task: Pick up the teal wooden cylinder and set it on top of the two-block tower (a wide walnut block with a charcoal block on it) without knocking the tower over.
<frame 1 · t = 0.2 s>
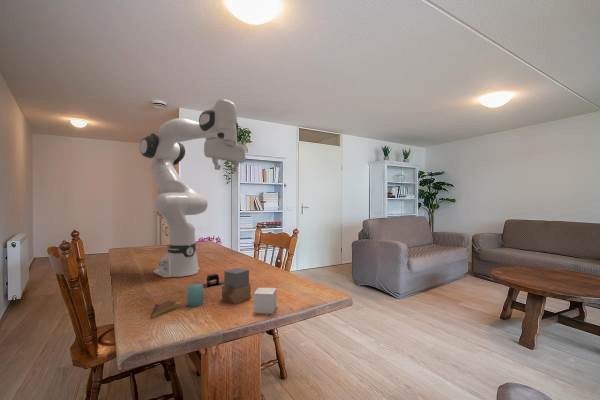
hand: (226, 170, 116), 47 cm above the table, tool pointing down, fingers open, 8 cm apart
tower upper block: (236, 284, 97), point 5 cm above the table, touching tower lower block
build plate: (212, 286, 114), on the table
shard: (167, 311, 87), on the table
teal cylinder: (195, 303, 92), on the table
white cube: (265, 310, 87), on the table
tower lower block: (236, 299, 97), on the table, touching tower upper block
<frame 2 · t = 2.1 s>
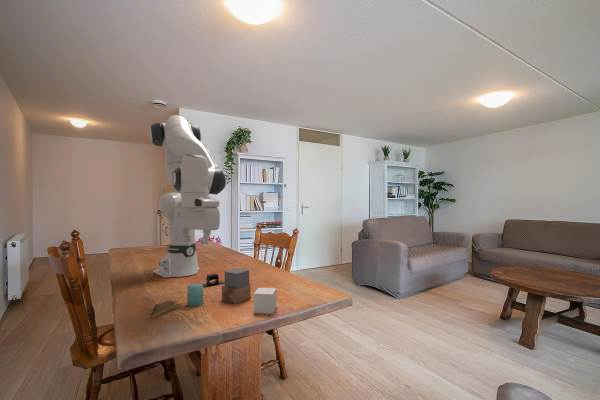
hand: (195, 242, 92), 20 cm above the table, tool pointing down, fingers open, 8 cm apart
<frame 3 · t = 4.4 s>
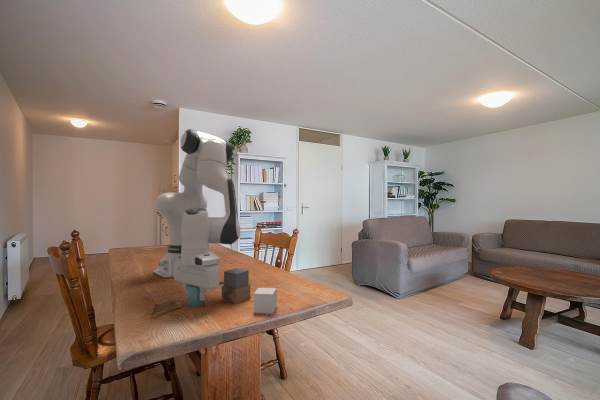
hand: (195, 297, 92), 2 cm above the table, tool pointing down, fingers closed on teal cylinder, 5 cm apart
teal cylinder: (195, 303, 92), on the table, touching gripper
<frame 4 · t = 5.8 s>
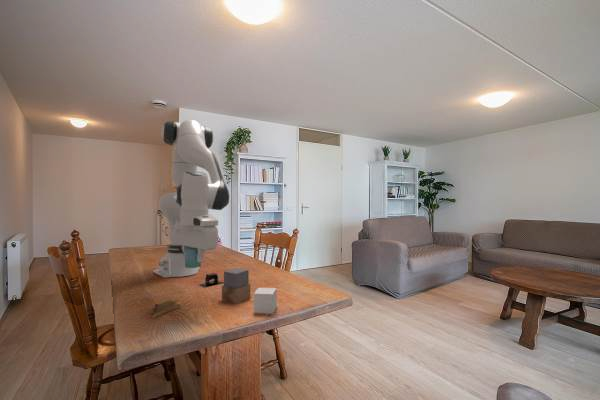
hand: (193, 260, 92), 15 cm above the table, tool pointing down, fingers closed on teal cylinder, 5 cm apart
teal cylinder: (192, 266, 92), point 13 cm above the table, touching gripper
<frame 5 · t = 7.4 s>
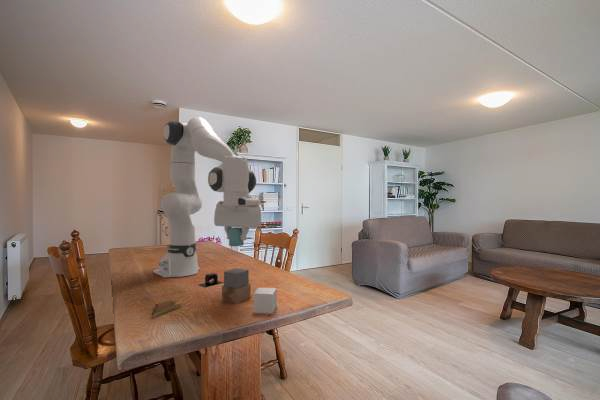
hand: (236, 239, 97), 21 cm above the table, tool pointing down, fingers closed on teal cylinder, 5 cm apart
teal cylinder: (236, 245, 97), point 19 cm above the table, touching gripper
when the fingers open (13 cm above the table, at t = 8.9 s): teal cylinder drops 1 cm, resting on tower upper block.
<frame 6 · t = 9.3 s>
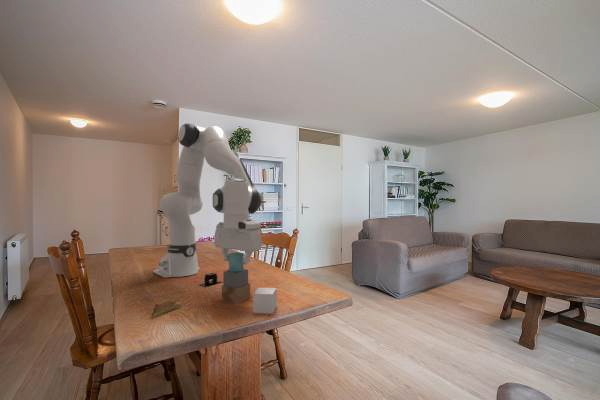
hand: (236, 262, 97), 13 cm above the table, tool pointing down, fingers open, 8 cm apart
tower upper block: (235, 284, 97), point 5 cm above the table, touching teal cylinder, tower lower block
teal cylinder: (236, 270, 97), point 10 cm above the table, touching tower upper block
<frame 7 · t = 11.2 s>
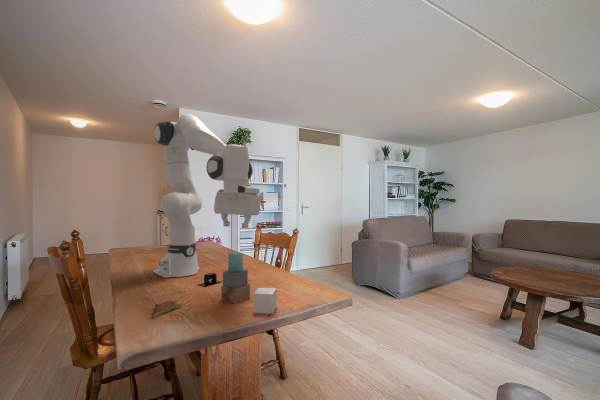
hand: (235, 227, 99), 25 cm above the table, tool pointing down, fingers open, 8 cm apart
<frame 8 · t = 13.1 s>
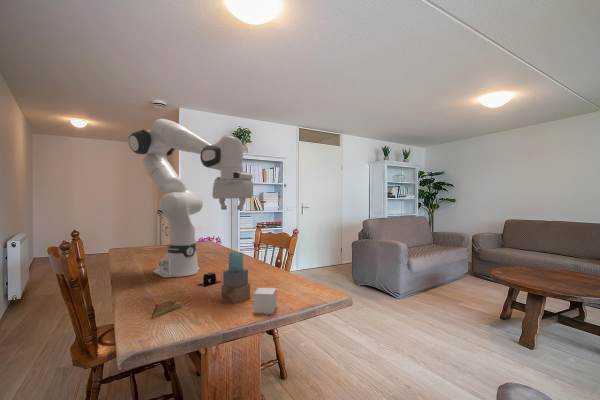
hand: (231, 209, 111), 31 cm above the table, tool pointing down, fingers open, 8 cm apart
at the end: teal cylinder 0.2 cm off-centre on the tower upper block, point 5.0 cm above the tower upper block's base; tower upper block 0.1 cm off-centre on the tower lower block, point 5.0 cm above the tower lower block's base; the gripper is holding nothing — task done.
